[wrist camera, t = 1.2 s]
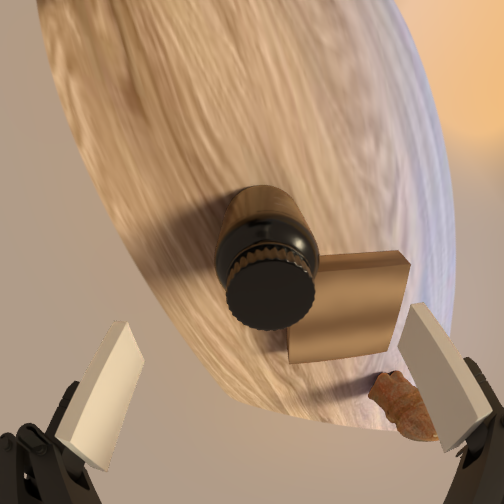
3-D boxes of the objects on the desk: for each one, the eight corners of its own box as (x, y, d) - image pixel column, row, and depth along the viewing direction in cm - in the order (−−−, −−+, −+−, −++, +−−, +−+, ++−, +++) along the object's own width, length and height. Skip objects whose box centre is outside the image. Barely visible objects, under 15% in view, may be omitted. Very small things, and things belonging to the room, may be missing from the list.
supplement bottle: (265, 266, 27) (271, 360, 16) (210, 223, 25) (178, 303, 15) (316, 216, 25) (358, 291, 14) (259, 166, 23) (264, 209, 12)
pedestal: (286, 258, 27) (289, 274, 24) (398, 250, 26) (410, 264, 23) (287, 345, 32) (289, 364, 29) (379, 335, 31) (386, 351, 29)
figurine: (363, 390, 37) (385, 471, 24) (380, 356, 33) (414, 447, 20) (406, 383, 37) (434, 455, 24) (426, 350, 33) (465, 427, 20)
